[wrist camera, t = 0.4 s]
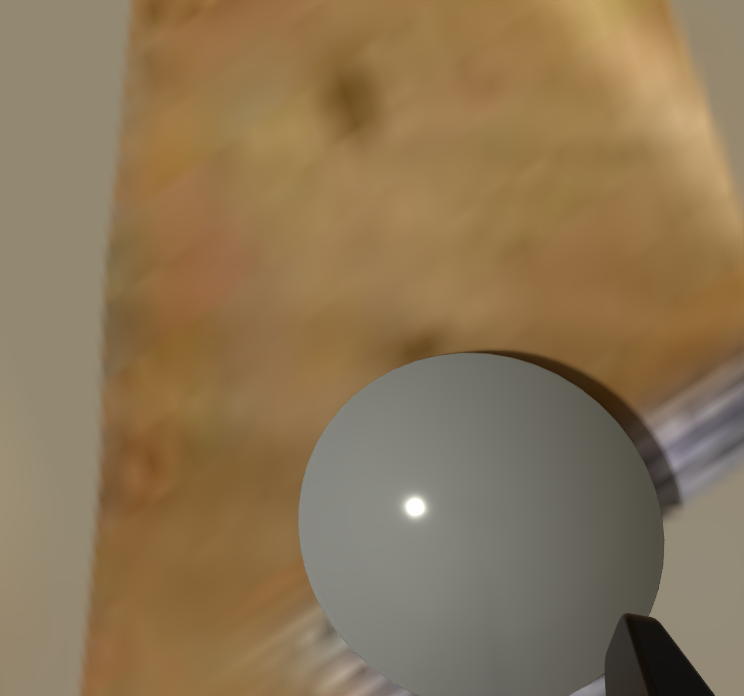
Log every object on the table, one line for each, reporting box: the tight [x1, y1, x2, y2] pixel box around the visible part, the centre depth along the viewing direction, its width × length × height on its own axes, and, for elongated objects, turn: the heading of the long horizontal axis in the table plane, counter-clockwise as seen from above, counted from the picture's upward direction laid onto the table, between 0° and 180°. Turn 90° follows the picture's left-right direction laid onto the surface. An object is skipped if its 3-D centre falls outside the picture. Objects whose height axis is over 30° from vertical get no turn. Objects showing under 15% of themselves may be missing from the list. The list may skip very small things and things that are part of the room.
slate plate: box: [299, 352, 664, 696], centre depth 21 cm, size 12×12×1 cm
